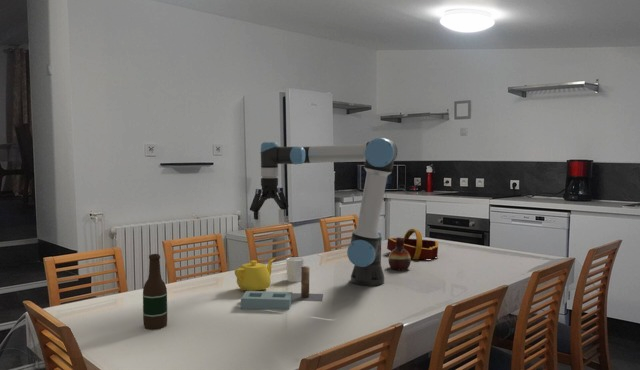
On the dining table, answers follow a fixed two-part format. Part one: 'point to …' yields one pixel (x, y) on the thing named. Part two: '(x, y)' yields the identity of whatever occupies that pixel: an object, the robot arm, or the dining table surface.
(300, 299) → the mat
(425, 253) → the decorative basket
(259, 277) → the teapot
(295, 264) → the white cup
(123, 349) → the dining table surface
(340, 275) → the dining table surface
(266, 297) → the hole block
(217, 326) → the dining table surface
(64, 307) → the dining table surface
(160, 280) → the beer bottle
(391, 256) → the vase
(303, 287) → the peg
